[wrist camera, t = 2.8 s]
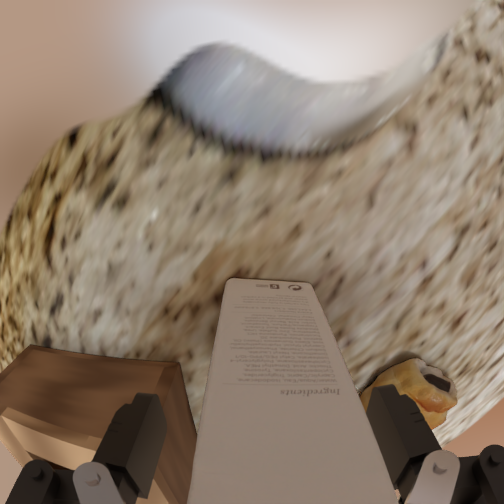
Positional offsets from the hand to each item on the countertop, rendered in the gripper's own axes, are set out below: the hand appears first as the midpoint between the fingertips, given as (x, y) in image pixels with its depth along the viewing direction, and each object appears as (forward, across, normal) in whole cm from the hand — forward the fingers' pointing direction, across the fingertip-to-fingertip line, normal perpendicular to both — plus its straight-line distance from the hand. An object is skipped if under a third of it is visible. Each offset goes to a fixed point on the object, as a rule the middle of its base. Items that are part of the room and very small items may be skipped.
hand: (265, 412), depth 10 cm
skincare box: (+6, 0, 0) cm, 6 cm away
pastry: (+6, -9, +7) cm, 13 cm away
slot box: (+6, +11, +9) cm, 15 cm away
